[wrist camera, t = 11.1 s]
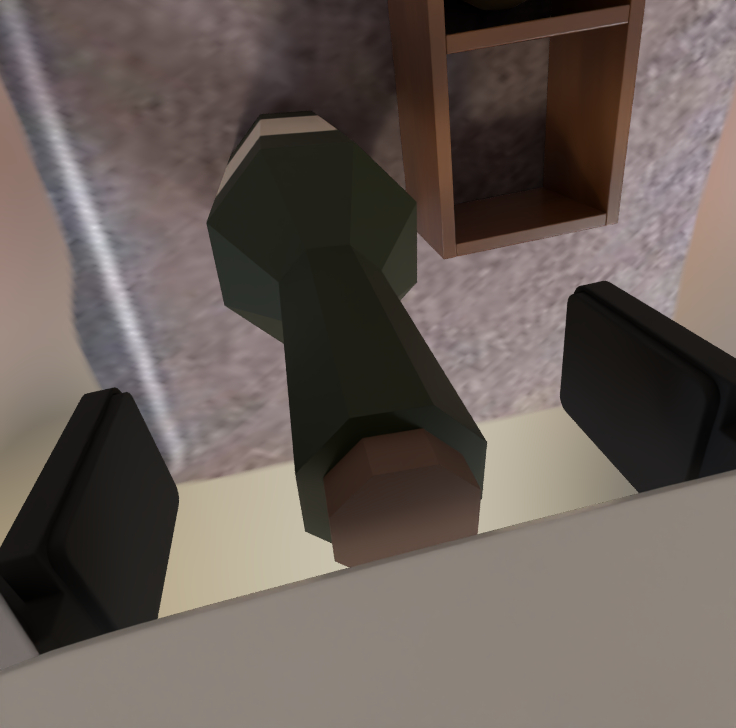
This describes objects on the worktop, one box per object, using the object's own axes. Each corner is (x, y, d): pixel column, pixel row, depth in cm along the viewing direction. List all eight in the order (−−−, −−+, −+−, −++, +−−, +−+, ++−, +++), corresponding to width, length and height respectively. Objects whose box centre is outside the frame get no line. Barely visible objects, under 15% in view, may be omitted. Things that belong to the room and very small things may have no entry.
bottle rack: (367, -197, 25) (408, -297, 18) (574, -223, 26) (687, -328, 19) (409, 224, 36) (443, 259, 29) (552, 195, 37) (617, 223, 30)
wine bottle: (244, 85, 30) (156, 155, 4) (372, 133, 32) (773, 349, 7) (217, 219, 33) (80, 683, 8) (334, 252, 36) (511, 680, 11)
